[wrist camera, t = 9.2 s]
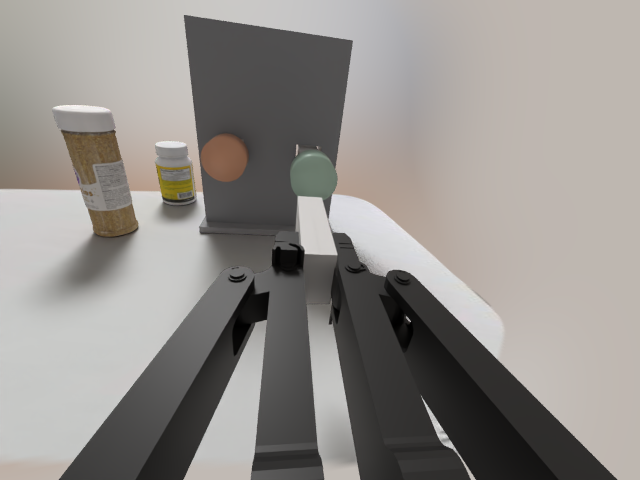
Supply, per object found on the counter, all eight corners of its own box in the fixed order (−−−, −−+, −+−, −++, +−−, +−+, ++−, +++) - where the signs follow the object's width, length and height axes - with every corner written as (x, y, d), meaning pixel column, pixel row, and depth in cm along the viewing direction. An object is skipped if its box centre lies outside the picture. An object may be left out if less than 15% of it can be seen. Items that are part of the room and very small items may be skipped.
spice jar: (87, 228, 32) (42, 103, 26) (128, 217, 36) (99, 104, 29) (104, 242, 30) (61, 110, 24) (147, 229, 34) (119, 110, 27)
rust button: (203, 180, 29) (198, 136, 26) (224, 154, 39) (222, 121, 36) (245, 183, 29) (244, 140, 27) (256, 157, 39) (255, 124, 37)
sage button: (289, 201, 26) (291, 154, 24) (288, 167, 36) (290, 132, 34) (334, 203, 27) (340, 158, 25) (321, 170, 37) (324, 136, 35)
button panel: (200, 232, 35) (172, 10, 24) (212, 209, 41) (195, 24, 30) (331, 237, 37) (361, 39, 26) (325, 215, 43) (347, 46, 32)
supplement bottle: (171, 193, 44) (162, 139, 40) (201, 196, 45) (195, 142, 40) (156, 204, 40) (144, 145, 36) (189, 207, 40) (181, 149, 36)
